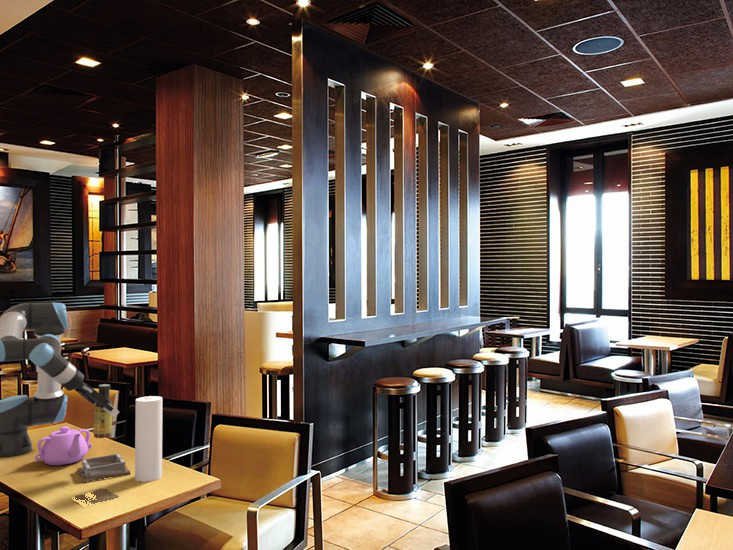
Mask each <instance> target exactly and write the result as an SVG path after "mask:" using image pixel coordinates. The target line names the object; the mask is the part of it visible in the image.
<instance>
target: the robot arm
mask: <svg viewBox="0 0 733 550" xmlns="http://www.w3.org/2000/svg"><path fill="white" fill-rule="evenodd" d="M68 329H69V322H68V314H67V306H66V304H64V303H62V302H54V301H53V302H24V303H19V304H15V305H13V306H12V307H10V308H8V309H7V310H5V311H4V312H3V313H2V314H1V315H0V362H11V361H26V360H30V361H31V362H32V363H33V364H34V365H35V366H37V391H35V392H34V393H33V397H30V398H29V397H28V395H26V394H23V395H21V394H20V395H14V396H9V397H6V398H3V399H0V458H7V457H8V458H9V457H14V456H19V455H23V454H27V453H29V452H31V451H32V449H33V444H32V440H31V438H30V436H29V432H28V427H29V426H37V425H38V426H39V425H46V424H47V425H49V424H56V423H61V422H63V421H64V420H65V417H66V413H67V405H68V395H66V394H65V392H64V390H62V389H61V387H63V388H64V389H65V390H66V391H68V392H71V391H73V390H74V391H75V392H76V393H78V395H80V396H82V397H83V398H84V399H85V400H86V401H87V402H88V403H91V404H92V405H93V406H95V405H96V403H98V404H99V405H100V406H102V407H101V409H104V410H105V411H107V412H108V413H109V414H110V415H111V416H112V418H116V417H117V415H118V414H119V413H120V411H119V410H118V409H117V408H116V407H114V406H113V404H112V405H111V404H110V403H109V401H108V400H106V399H105V398H104V397H103V396H102V395H100V394H99V391H97V390H95V388H94V387H92V386H91V385H90V384H88V383H87V382H84V379H85V374H83V373H82V372H81V370H79V369H77V368H76V366H75V365H74V364H72V363H71V362H70V361H69V360H67V359H66V358H64V357H63V356H62V354H61V351H62V349H61V347H62V346H61V343H62V342H61V341H62V340H61V339H62V336H63V335H65V332H66V330H68ZM24 331H33V335H35V337H36V338H25V339H24V338H23V332H24Z"/></svg>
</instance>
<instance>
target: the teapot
mask: <svg viewBox="0 0 733 550" xmlns="http://www.w3.org/2000/svg"><path fill="white" fill-rule="evenodd" d="M82 433H86V436H85V437H84V436H83V434H82ZM90 437H91V433H90V430H88V429H85V428H83V429H82V428H81V429H79V430H77V429H74V428H70V426H67V425H65V426H62V427H60V428H59V430H55V431H53V432H51V433H50V434H49V435H48V436H43V437H42V438H40V439H39V440H38V441H37V443H36V444H37V451H38V453H37V454H36V455H35V457H34V460H35V461H36V462H41V461H42V462H43V463H44V464H46V465H49V466H62V465H69V464H74V463H77V462H79V461H82V459H85V458H84V457H86V455H87V454H88V451H89V450H90V449H92V446H93V445H92V443H91V442H89V441H90ZM42 442H44V443H43V445H42Z"/></svg>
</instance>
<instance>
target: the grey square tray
mask: <svg viewBox="0 0 733 550" xmlns="http://www.w3.org/2000/svg"><path fill="white" fill-rule="evenodd" d="M81 461H82V462H81V463H82V464H81V465H82V466H81V467H77V468H76V469H77V470H78V471H77V470H76V471H77V473H78V472H79V473H78V475H79V474H80V475H79V476H81V477H80V479H81V478H82V479H81V481H82V480H83V481H82V483H83V482H87V481H93V480H98V481H100V480H99V479H103V480H105V479H104V478H109V477H114V478H117V477H116V476H120V477H122V476H121V475H125V476H128V475H127V474H130V475H131V471H130V470H129V468H128V467H127V466H126V461H125V460H124V459H123V457H122V456H121V455H120V454H119V453H114V454H107V455H102V456H101V455H99V456H95V457H94V456H93V457H90V458H83V459H81ZM109 479H110V478H109ZM93 482H94V481H93ZM87 483H88V482H87Z"/></svg>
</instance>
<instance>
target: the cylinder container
mask: <svg viewBox="0 0 733 550" xmlns="http://www.w3.org/2000/svg"><path fill="white" fill-rule="evenodd" d="M134 431H135V432H134V433H135V437H134V438H135V439H134V441H135V442H134V451H135V452H134V480H135V481H136V480H137V482H139V481H141V483H145V482H147V481H148V483H149V482H153V481H157V480H159V479H161V478H162V477H163V397H162V396H159V395H158V396H156V395H154V396H153V395H149V396H141V397H138V398H136V399H135V429H134Z"/></svg>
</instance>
